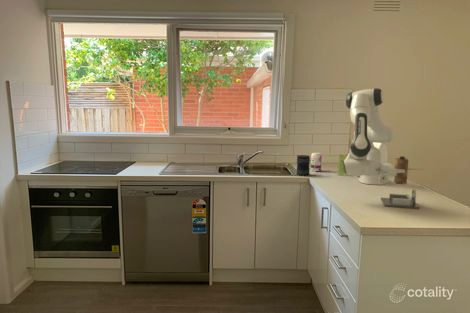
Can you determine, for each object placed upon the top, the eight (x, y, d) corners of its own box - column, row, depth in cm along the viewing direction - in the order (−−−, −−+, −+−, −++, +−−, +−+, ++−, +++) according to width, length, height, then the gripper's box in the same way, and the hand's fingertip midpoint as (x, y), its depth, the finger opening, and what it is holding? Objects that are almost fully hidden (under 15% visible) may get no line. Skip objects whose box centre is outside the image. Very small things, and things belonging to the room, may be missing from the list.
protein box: (358, 177, 237) (359, 156, 235) (337, 175, 245) (338, 155, 242) (360, 174, 246) (361, 154, 244) (340, 172, 254) (341, 153, 251)
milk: (365, 169, 269) (367, 138, 266) (375, 167, 274) (377, 138, 270) (377, 171, 259) (379, 139, 255) (387, 170, 263) (389, 139, 260)
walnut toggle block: (396, 183, 166) (397, 157, 164) (394, 181, 171) (396, 155, 168) (406, 184, 164) (408, 157, 162) (404, 182, 169) (406, 156, 167)
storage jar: (294, 175, 244) (295, 156, 242) (298, 173, 252) (298, 154, 250) (307, 176, 239) (308, 157, 237) (310, 174, 248) (311, 155, 246)
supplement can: (322, 170, 262) (322, 152, 260) (319, 172, 255) (320, 154, 253) (312, 169, 266) (313, 152, 264) (309, 171, 259) (310, 153, 257)
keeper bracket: (384, 206, 165) (385, 191, 164) (380, 199, 178) (381, 185, 177) (419, 209, 160) (420, 193, 159) (412, 201, 173) (413, 187, 172)
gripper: (377, 165, 160) (408, 167, 156) (372, 159, 179) (399, 161, 175) (376, 178, 161) (407, 179, 157) (372, 170, 180) (398, 172, 176)
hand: (403, 169), depth 166 cm, fingers closed on walnut toggle block, 5 cm apart
